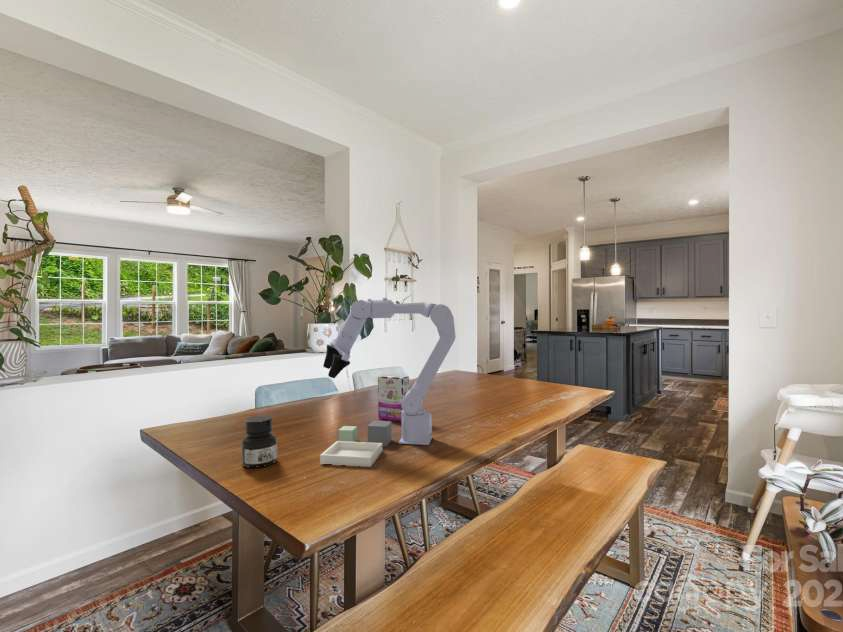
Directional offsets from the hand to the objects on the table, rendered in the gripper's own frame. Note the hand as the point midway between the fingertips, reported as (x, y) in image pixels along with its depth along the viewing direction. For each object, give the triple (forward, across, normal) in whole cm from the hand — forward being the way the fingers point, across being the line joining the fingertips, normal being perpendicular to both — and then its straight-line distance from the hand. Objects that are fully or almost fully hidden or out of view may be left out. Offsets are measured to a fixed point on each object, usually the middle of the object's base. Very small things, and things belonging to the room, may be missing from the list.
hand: (328, 372), depth 132 cm
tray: (+13, +24, +8) cm, 29 cm away
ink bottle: (+25, +17, -12) cm, 33 cm away
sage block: (+16, +11, +12) cm, 23 cm away
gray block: (+11, +16, +20) cm, 27 cm away
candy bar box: (+11, -7, +35) cm, 37 cm away
